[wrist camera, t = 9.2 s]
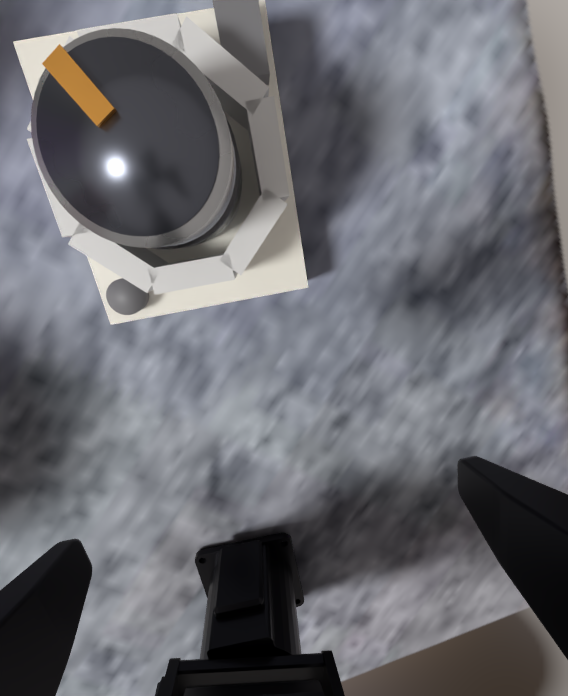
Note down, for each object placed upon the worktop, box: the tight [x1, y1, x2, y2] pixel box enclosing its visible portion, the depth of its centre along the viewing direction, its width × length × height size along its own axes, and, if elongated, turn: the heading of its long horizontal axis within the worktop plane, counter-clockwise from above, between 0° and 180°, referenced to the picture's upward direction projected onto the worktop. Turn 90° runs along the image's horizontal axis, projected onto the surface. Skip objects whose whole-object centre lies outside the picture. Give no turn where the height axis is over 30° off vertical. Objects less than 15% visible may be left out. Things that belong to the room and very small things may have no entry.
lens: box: [31, 28, 242, 249], centre depth 12 cm, size 5×5×6 cm
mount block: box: [13, 0, 308, 325], centre depth 14 cm, size 11×10×4 cm
